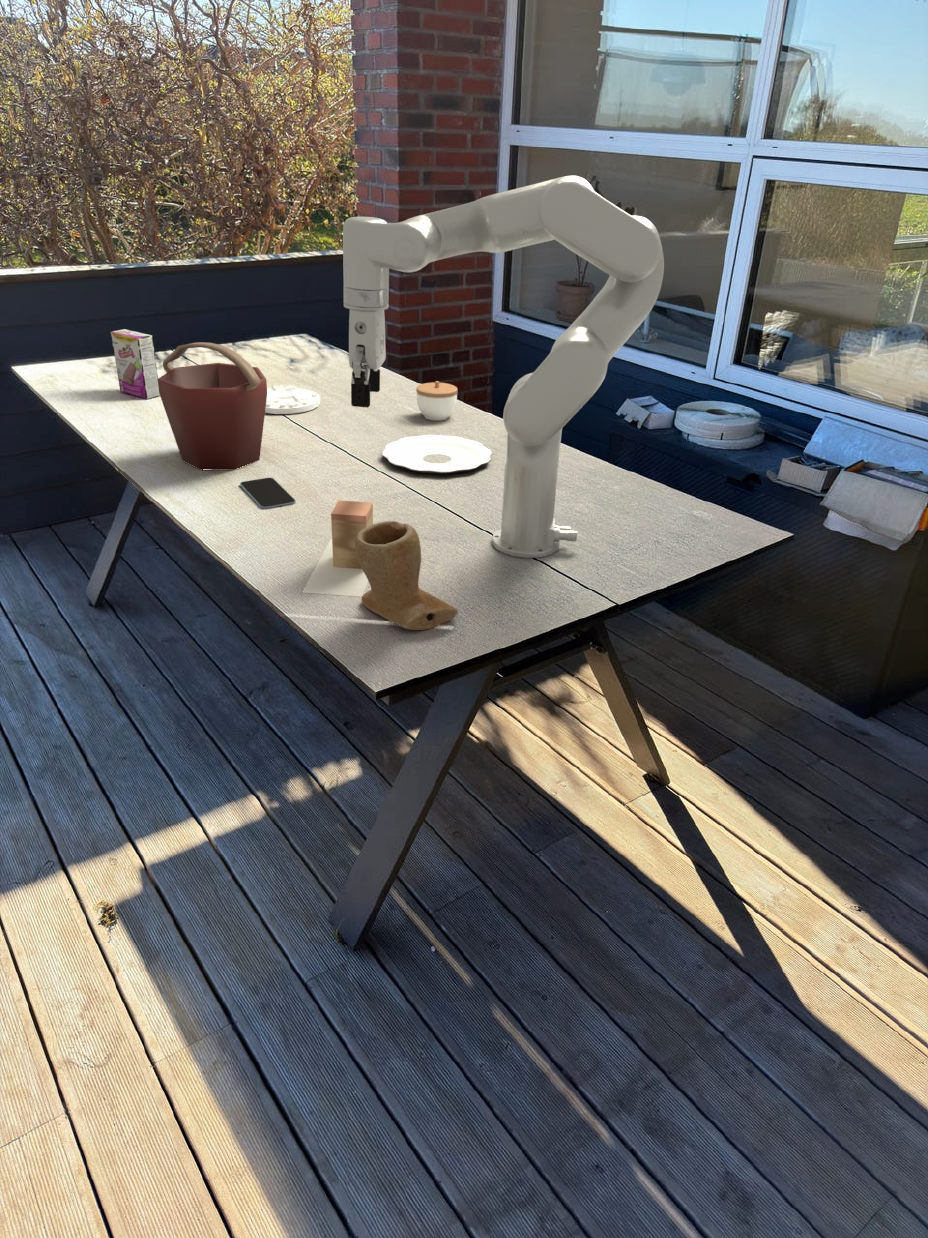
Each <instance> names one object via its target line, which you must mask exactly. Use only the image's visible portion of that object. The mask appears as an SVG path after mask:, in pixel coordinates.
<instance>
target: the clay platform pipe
mask: <svg viewBox="0 0 928 1238" xmlns="http://www.w3.org/2000/svg"><path fill="white" fill-rule="evenodd" d="M355 551H356V555H357V558H358V561H359V563H360V566H361V568H362V570H363V572H364V573H365V575H366V577H367V579H368V583H369V586H370V590H368V591H366V592H364V593H363V596H362V597H361V602H362V604H363V605H364V606H365V607H366V608H368V610H370V611H371V612H372V613H374V614H376V615H378V616H380V617H382V618H384V619H385V620H388V621H389V622H391V623H393V624H395V625H397V626H399V627H401V628H403V629H404V630H415V631H424V630H425V631H426V630H430V629H432V628H435V627H438V626H441V625H443V624H445V623H447V622H449V621H450V620H451V619H453V618H455V617H456V616H457V615H458V613H459V611H458V609H457V608H455V607H454V606H452V605H450V604H449V603H447V602H446V601H444V600H442V599H440V598H438V597H437V596H434V595H432V594H431V593H428V592H426V591H425V590H423V589H421V588H419V587H420V586H419V579H420V572H421V571H420V570H421V565H422V548H421V541H420V538H419V535H418V532H417V530H416V529H415V528H414V527H413V526H412V525H410V524H409V523H403V522H398V521H394V520H386V521H380V522H375V523H373V525H370V526H368V527H366V528H364V529H362V530H361V531H360V532H359V533H358V534H357V536H356V539H355Z"/></svg>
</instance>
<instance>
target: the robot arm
mask: <svg viewBox="0 0 928 1238" xmlns="http://www.w3.org/2000/svg"><path fill="white" fill-rule="evenodd" d="M554 240H555V241H556V242H558V243H559V244H560V245H562V246H563V247H565V248H567V250H569V251H571V252H572V253H574V254H576V255H577V256H578V257H580V258H582V259H583V260H585V261H587V262H588V263H590V264H591V265H593V266H595V267H596V268H598V269H599V270H601V271H603V273H605V274H607V275H609V277H608V279H607V280H606V282H605V284H604V286H603V287H602V288H601V289H600V291H599V292H598V293H597V294H596V296H595V297H594V298H593V300H592V301H591V302H590V304H588V305H587V307H586V308H585V309H584V310H583V311H582V312H581V314H580V315H578V317H577V318H576V319H575V320H574V321H573V322H572V323H571V324H570V326H569V327H567V328H566V329H565V331H563V332H562V333H561V334H560V335H559V336H558V338H557V339H556V340H555V341H554V343H553V345H552V347H551V350H550V352H549V354H548V355H547V356H546V357H545V359H543V361H542V362H541V363H540V365H538V367H537V368H536V369H535V370H534V371H533V372H530V373H527V374H525V375H523V376H522V377H520V378H519V379H518V380H517V381H516V382H515V383H514V385H513V386H512V388H511V389H510V393H509V394H508V397H507V399H506V402H505V405H504V408H503V414H502V415H503V416H502V420H503V426H504V429H505V431H506V433H507V434H506V444H505V445H506V446H505V459H504V460H505V462H504V471H503V472H504V476H503V491H502V509H501V510H502V511H501V526H500V529H498V530H496V531H495V532H493V534H492V538H491V543H492V545H493V547H494V548H495V549H496V550H498V551H499V552H501V553H503V554H506V555H509V556H511V557H518V558H525V559H527V558H528V559H530V558H531V559H535V558H542V557H543V556H544V557H546V556H550V555H553V554H554V553H556V552H557V551H558V550H559V548H560V545H561V544H560V541H566V542H577V539H578V531H576V530H571V526H559V524H556V518H555V514H554V513H555V505H556V496H557V495H556V494H557V484H558V472H559V471H558V470H559V465H560V462H559V461H560V453H561V451H560V450H561V442H562V431H563V428H564V427H565V426H566V425H567V423H569V421H570V420H571V419H572V418H574V416H575V415H576V414H577V413H578V412H579V411H580V410H581V409H582V408H583V406H585V404H587V402H589V400H590V399H591V398H592V397H593V396H594V394H596V392H597V391H598V390H599V388H600V387H601V386H602V383H604V380H605V379H606V375H607V372H608V367H609V362H610V361H611V360H612V359H613V358H614V356H615V355H616V354H617V352H619V350H620V349H621V348H622V347H623V346H624V345H625V343H626V342H627V341H628V340H629V338H630V337H631V336H632V335H633V334H634V333H635V332H636V330H637V329H638V328H639V327H640V326H641V324H643V322H644V321H645V320H646V318H647V317H648V316H649V314H650V313H651V311H652V309H653V308H654V306H655V303H656V302H657V300H658V298H659V295H660V292H661V288H662V284H663V279H664V273H665V259H664V251H663V245H662V241H661V237H660V235H659V231H658V229H657V227H656V226H655V225H654V224H653V223H652V221H650V220H649V219H648V218H647V217H644V216H641V215H631V214H629V213H628V212H626V211H625V210H623V209H621V208H620V207H619V206H617V205H615V204H614V203H612V202H610V201H609V200H608V199H606V198H604V197H603V196H602V195H601V194H599V193H597V192H596V191H595V189H594V188H593V186H592V185H591V184H590V182H589V181H588V180H587V179H585V178H584V177H581V176H578V175H565V176H561V177H557V178H554V179H553V178H552V179H549V180H545V181H542V182H541V181H540V182H537V183H533V184H530V185H525V186H521V187H518V188H517V187H516V188H514V189H510V190H505V191H502V192H498V193H494V194H490V195H487V196H484V197H481V198H479V199H476V200H474V201H470V202H467V203H464V204H460V205H456V206H452V207H448V208H444V209H440V210H436V211H432V212H429V213H425V214H420V215H417V216H413V217H411V218H407V219H406V220H403V221H400V222H390V223H389V222H387V221H386V220H384V219H382V218H381V217H380V218H378V217H374V216H352V217H348V218H346V220H345V221H344V223H343V225H342V248H343V249H342V251H343V252H342V255H343V256H342V259H343V267H342V268H343V269H342V270H343V274H342V275H343V307H344V308H345V309H348V310H349V319H348V323H349V324H348V360H349V368H350V369H352V372H351V380H350V381H351V383H350V384H351V385H350V392H351V393H350V396H351V399H350V401H351V402H350V403H351V406H352V407H356V408H369V407H370V406H371V392H372V393H379V392H380V391H381V369H380V368H381V367H382V365H383V364H384V362H385V361H386V356H387V355H386V351H387V348H386V319H385V318H386V317H385V316H386V315H385V310H388V309H389V298H390V297H389V295H390V294H389V292H390V291H389V290H390V289H389V288H390V282H389V281H390V270H394V271H399V272H403V273H414V272H418V271H420V270H422V269H423V268H424V267H426V266H427V265H428V264H430V263H432V262H433V263H434V262H436V261H439V260H443V259H448V258H452V257H456V256H461V255H464V254H465V255H466V254H470V253H478V252H485V253H491V254H499V253H506V252H509V251H513V250H518V249H521V248H525V247H529V246H534V245H538V244H542V243H546V242H550V241H554ZM557 549H558V550H557ZM556 550H557V551H556ZM555 551H556V552H555ZM552 553H553V554H552Z"/></svg>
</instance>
